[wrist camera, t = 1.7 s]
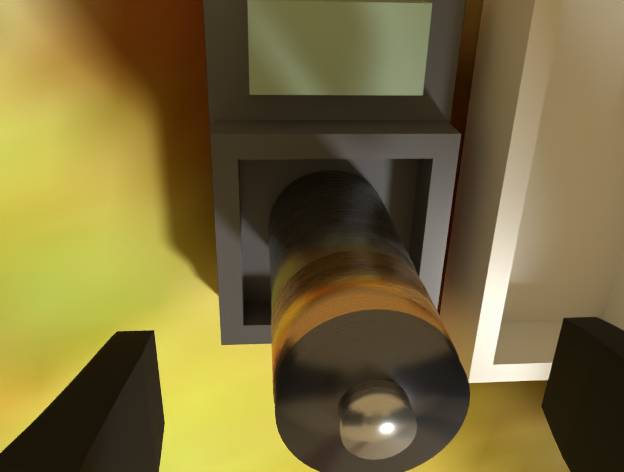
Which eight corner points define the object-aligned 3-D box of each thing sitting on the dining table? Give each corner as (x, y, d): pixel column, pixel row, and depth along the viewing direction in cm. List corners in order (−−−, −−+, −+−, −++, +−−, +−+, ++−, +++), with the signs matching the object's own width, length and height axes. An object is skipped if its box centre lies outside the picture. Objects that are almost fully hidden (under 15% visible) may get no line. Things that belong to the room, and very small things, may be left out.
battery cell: (382, 277, 17) (466, 499, 10) (268, 279, 17) (275, 509, 10) (392, 168, 15) (496, 342, 9) (266, 169, 15) (274, 349, 8)
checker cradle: (416, 295, 19) (436, 341, 16) (222, 299, 18) (217, 348, 16) (451, -17, 15) (485, -10, 12) (206, -22, 14) (197, -16, 12)
